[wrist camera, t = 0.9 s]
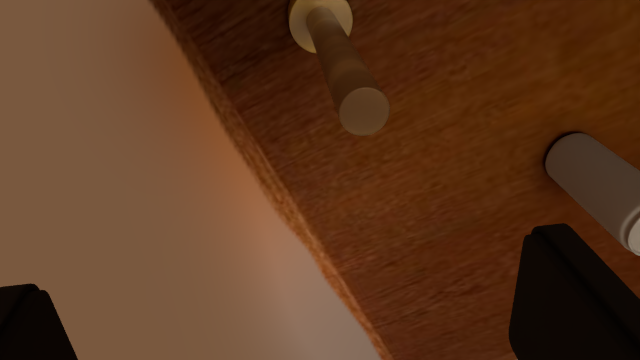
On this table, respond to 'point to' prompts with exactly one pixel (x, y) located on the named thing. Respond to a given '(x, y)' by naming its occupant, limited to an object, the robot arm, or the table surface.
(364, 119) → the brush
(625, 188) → the beverage can
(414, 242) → the table surface
